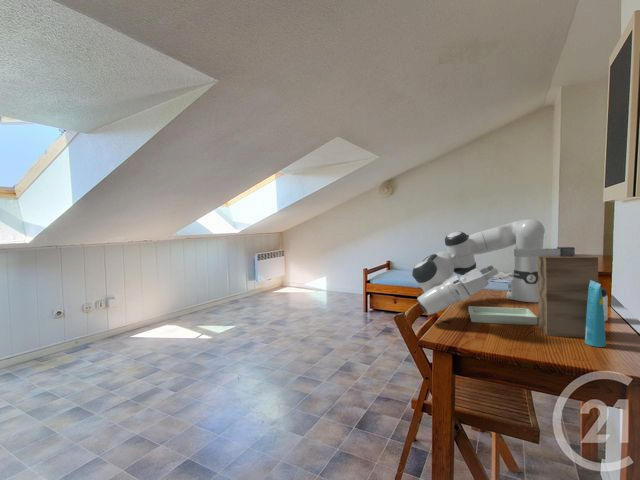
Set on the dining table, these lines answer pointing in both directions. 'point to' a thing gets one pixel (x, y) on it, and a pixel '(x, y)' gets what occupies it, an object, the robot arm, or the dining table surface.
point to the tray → (502, 315)
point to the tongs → (546, 252)
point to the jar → (605, 303)
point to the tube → (595, 317)
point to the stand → (565, 294)
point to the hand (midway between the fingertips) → (495, 268)
